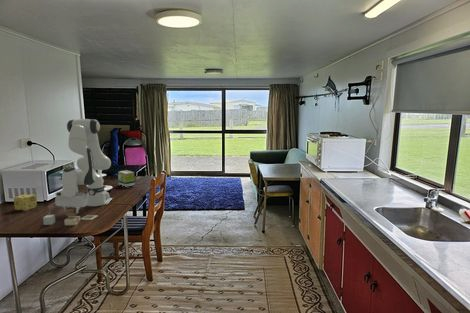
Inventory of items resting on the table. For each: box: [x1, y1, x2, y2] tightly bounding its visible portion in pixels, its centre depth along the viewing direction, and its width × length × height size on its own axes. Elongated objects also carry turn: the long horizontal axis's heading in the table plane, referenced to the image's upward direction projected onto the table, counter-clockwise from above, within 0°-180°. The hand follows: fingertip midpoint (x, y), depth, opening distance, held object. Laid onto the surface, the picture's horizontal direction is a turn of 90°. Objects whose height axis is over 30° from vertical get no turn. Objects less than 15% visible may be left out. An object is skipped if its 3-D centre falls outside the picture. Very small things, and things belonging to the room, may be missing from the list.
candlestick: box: [85, 170, 113, 192], centre depth 275 cm, size 21×25×28 cm
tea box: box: [117, 169, 136, 188], centre depth 298 cm, size 15×10×15 cm, turn 49°
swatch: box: [80, 214, 99, 221], centre depth 206 cm, size 8×8×1 cm
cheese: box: [13, 194, 38, 212], centre depth 224 cm, size 10×11×10 cm
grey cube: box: [42, 214, 56, 226], centre depth 194 cm, size 5×5×5 cm
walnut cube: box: [65, 207, 79, 217], centre depth 194 cm, size 5×5×5 cm
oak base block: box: [63, 215, 81, 226], centre depth 195 cm, size 7×7×4 cm
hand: (72, 212), depth 194 cm, fingers closed on walnut cube, 5 cm apart
